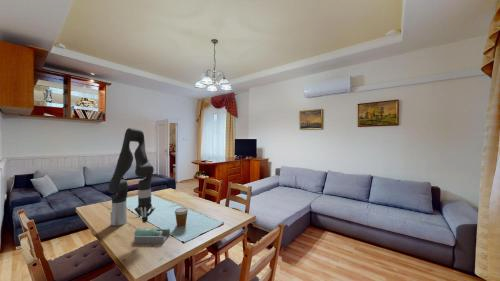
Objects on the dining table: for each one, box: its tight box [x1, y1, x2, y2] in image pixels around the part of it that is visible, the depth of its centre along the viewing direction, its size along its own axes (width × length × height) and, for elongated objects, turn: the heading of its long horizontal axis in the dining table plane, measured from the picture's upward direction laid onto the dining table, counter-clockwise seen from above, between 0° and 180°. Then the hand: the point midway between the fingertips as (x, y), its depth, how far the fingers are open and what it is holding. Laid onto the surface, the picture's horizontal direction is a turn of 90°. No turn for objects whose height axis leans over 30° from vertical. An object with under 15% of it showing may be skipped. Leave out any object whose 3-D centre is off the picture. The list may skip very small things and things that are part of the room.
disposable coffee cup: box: [174, 207, 189, 228], centre depth 147 cm, size 10×10×12 cm
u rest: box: [133, 228, 171, 244], centre depth 129 cm, size 18×10×4 cm, turn 90°
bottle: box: [134, 228, 163, 237], centre depth 129 cm, size 5×5×16 cm
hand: (145, 222), depth 128 cm, fingers closed
